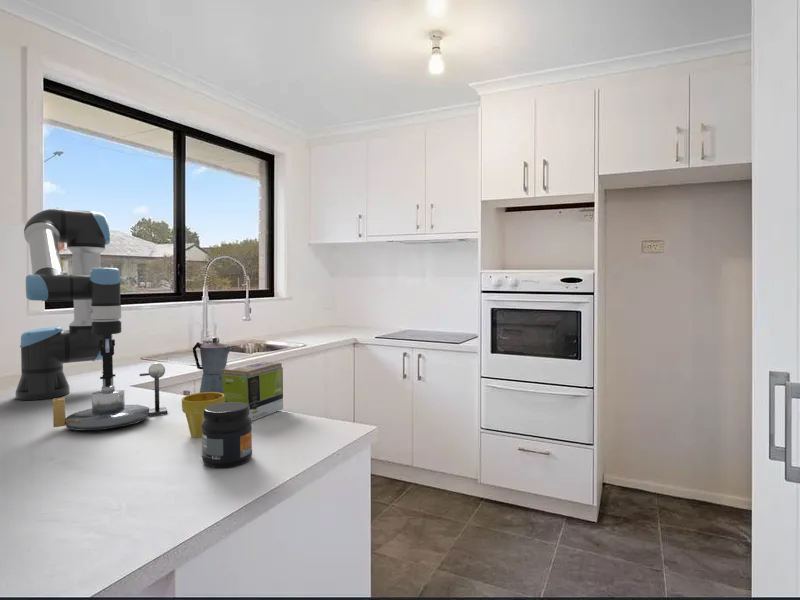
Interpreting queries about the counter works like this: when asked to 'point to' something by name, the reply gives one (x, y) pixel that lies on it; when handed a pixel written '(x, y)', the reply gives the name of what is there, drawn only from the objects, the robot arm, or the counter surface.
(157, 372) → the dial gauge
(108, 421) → the turntable
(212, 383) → the moka pot
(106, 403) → the cover
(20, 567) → the counter surface
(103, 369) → the robot arm
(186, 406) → the plant pot
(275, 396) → the tea box
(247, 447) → the supplement container
